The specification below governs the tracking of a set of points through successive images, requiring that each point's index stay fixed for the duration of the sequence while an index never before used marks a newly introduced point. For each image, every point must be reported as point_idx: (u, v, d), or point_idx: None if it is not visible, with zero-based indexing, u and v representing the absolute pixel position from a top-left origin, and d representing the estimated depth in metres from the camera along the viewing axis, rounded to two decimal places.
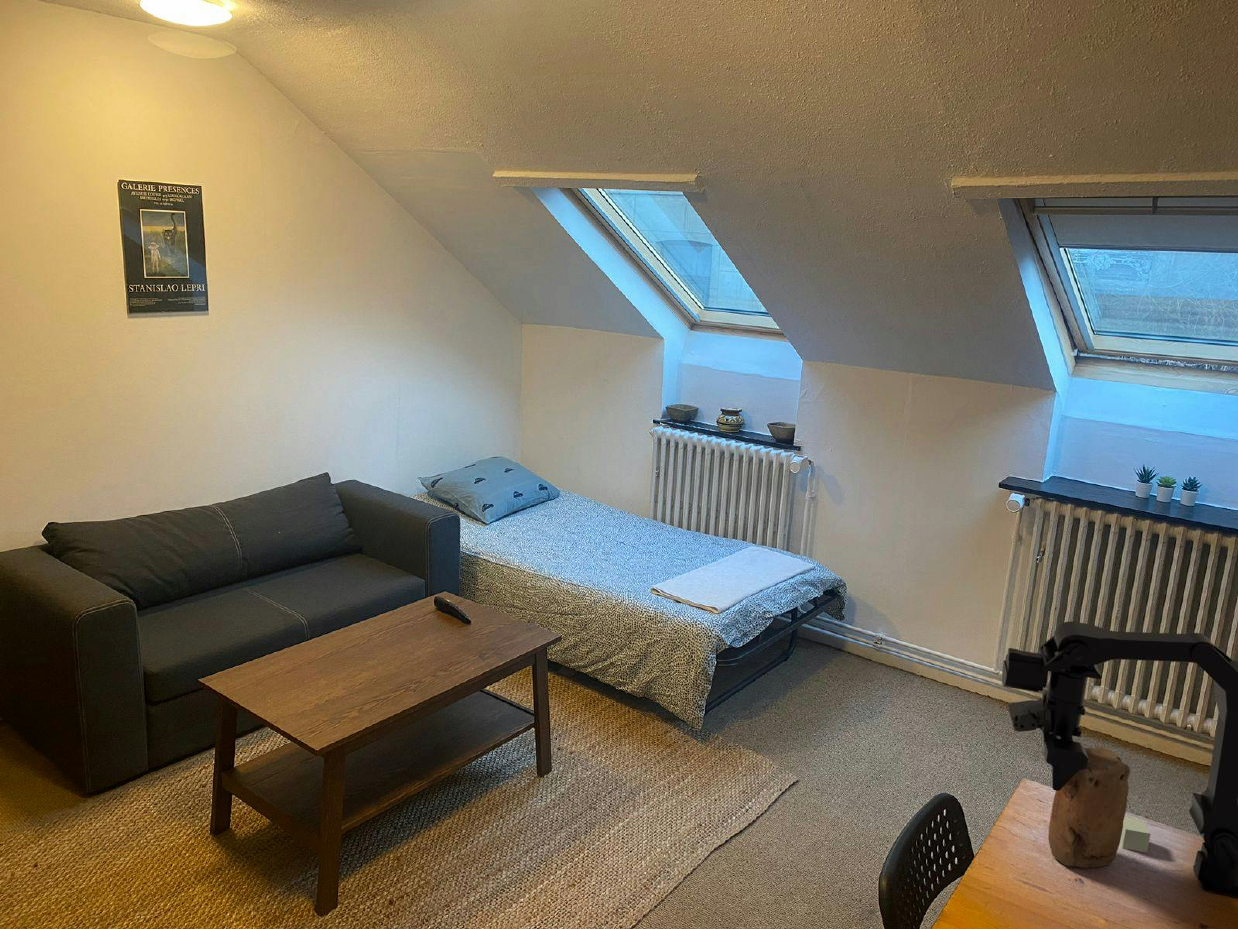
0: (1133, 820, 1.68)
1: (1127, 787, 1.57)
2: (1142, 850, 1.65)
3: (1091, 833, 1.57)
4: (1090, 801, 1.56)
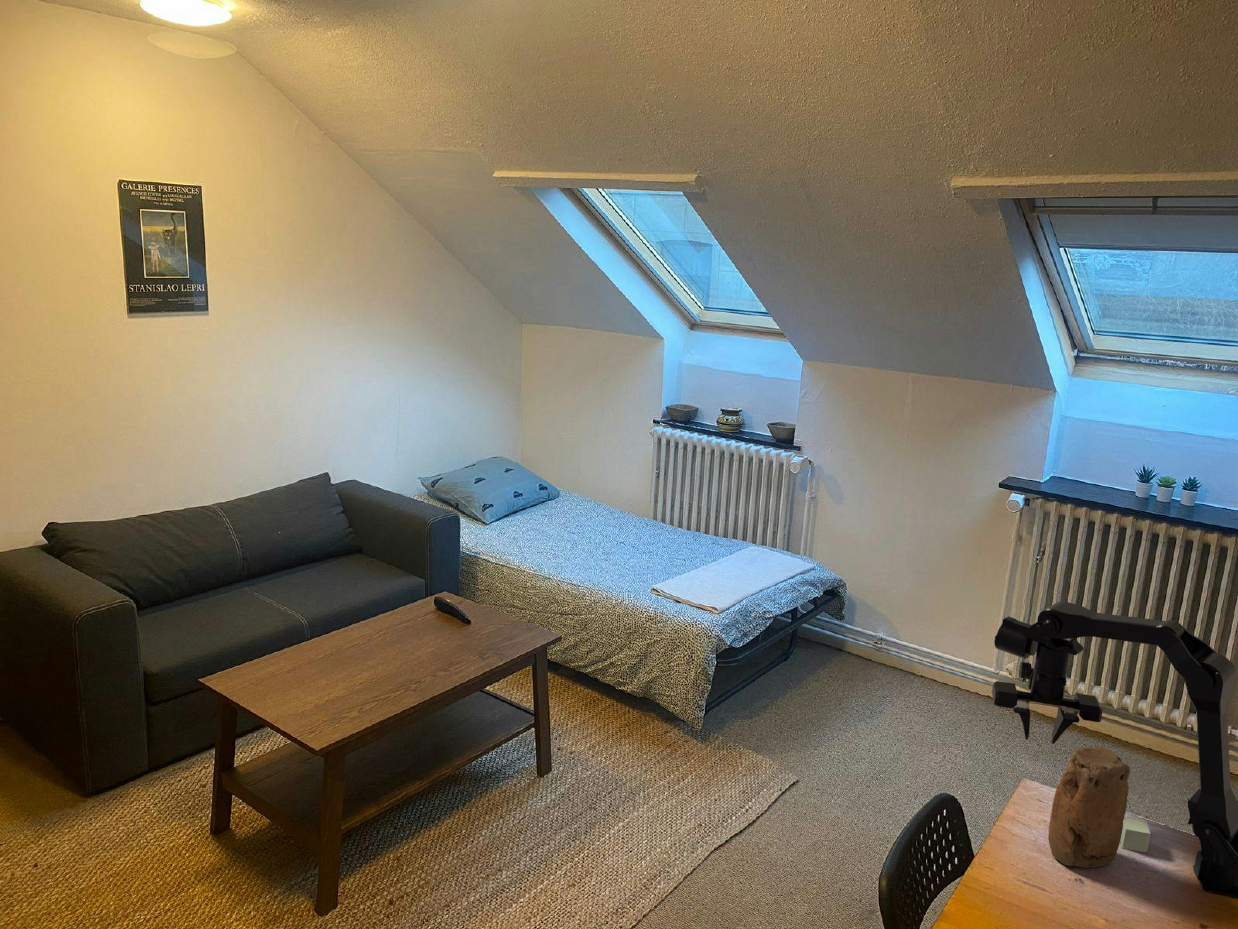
0: (1133, 820, 1.68)
1: (1127, 787, 1.57)
2: (1142, 850, 1.65)
3: (1091, 833, 1.57)
4: (1090, 801, 1.56)
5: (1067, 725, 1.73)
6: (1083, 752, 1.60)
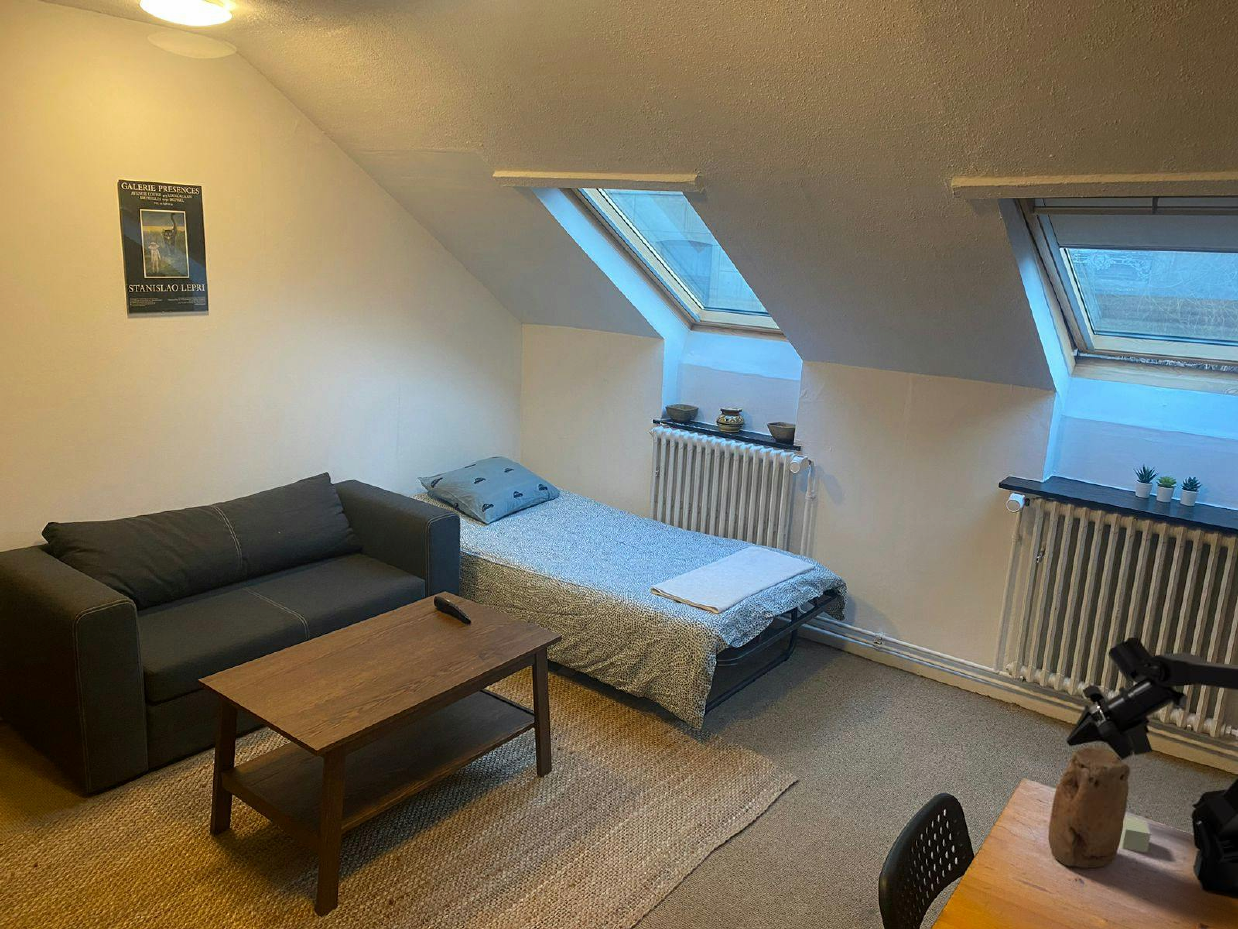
0: (1133, 820, 1.68)
1: (1127, 787, 1.57)
2: (1142, 850, 1.65)
3: (1091, 833, 1.57)
4: (1090, 801, 1.56)
5: (1086, 723, 1.73)
6: (1083, 752, 1.60)
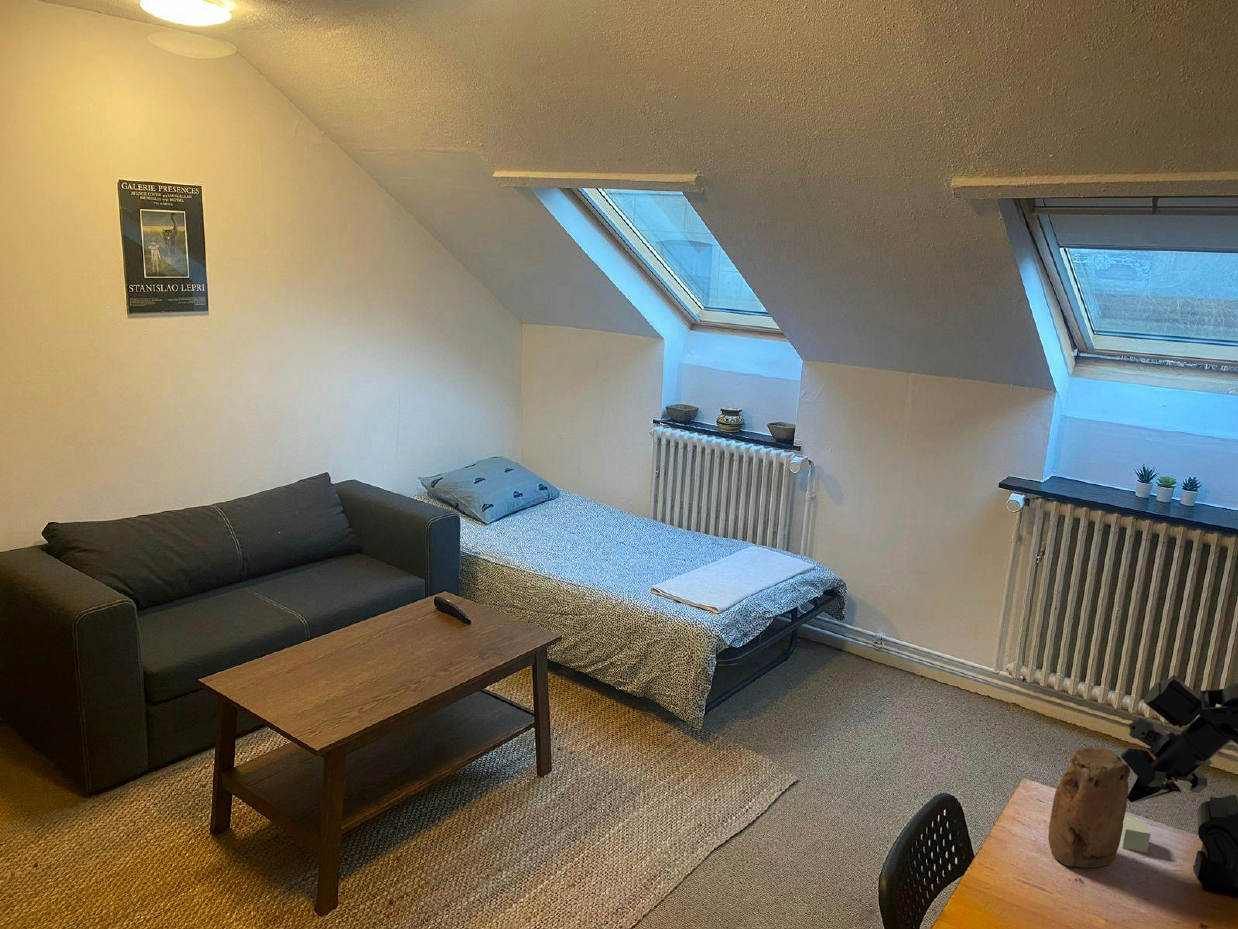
0: (1133, 820, 1.68)
1: (1127, 787, 1.57)
2: (1142, 850, 1.65)
3: (1091, 833, 1.57)
4: (1090, 801, 1.56)
5: (1168, 794, 1.58)
6: (1083, 752, 1.60)
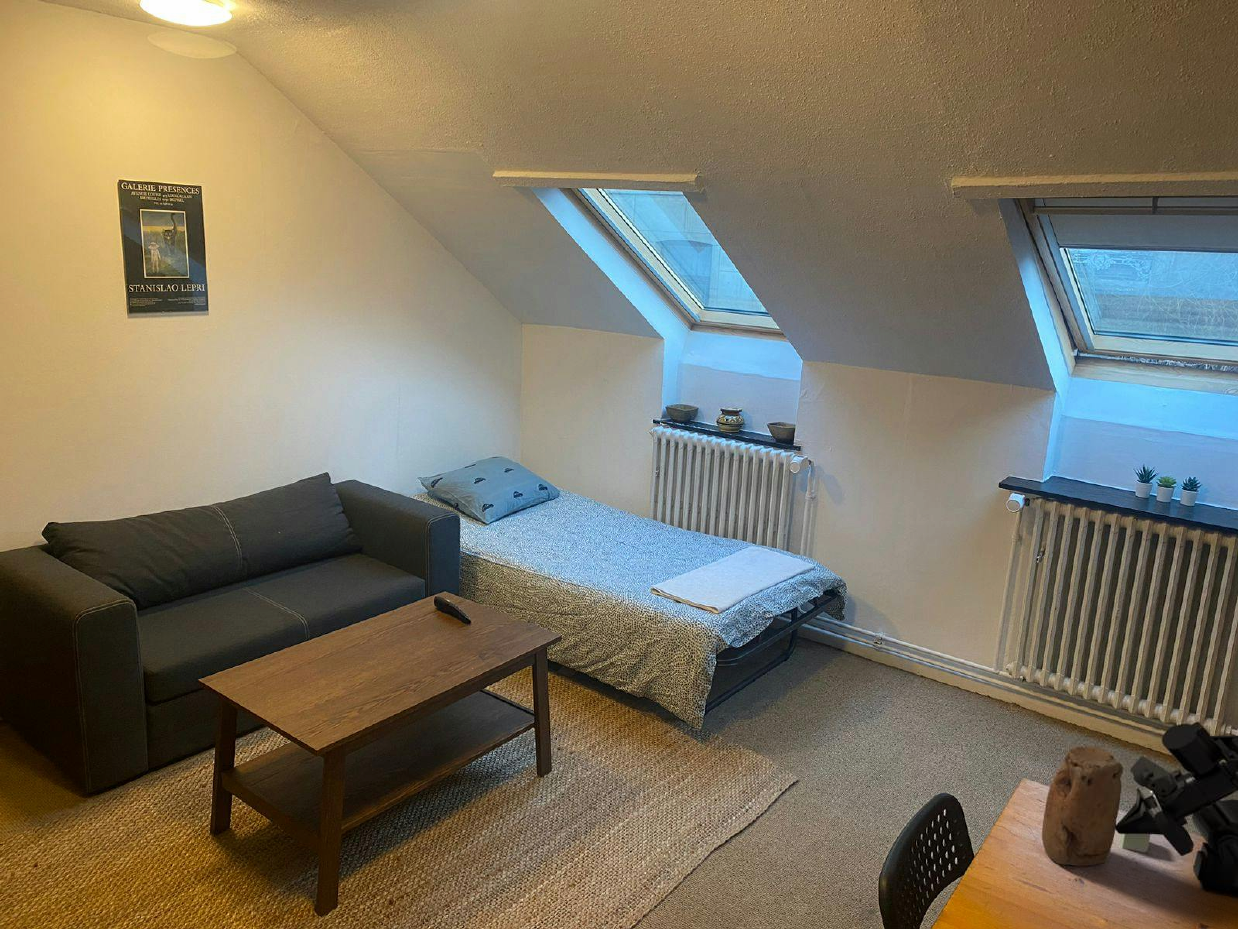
0: None
1: (1120, 785, 1.58)
2: (1142, 850, 1.65)
3: (1084, 831, 1.58)
4: (1083, 799, 1.56)
5: None
6: (1076, 751, 1.60)
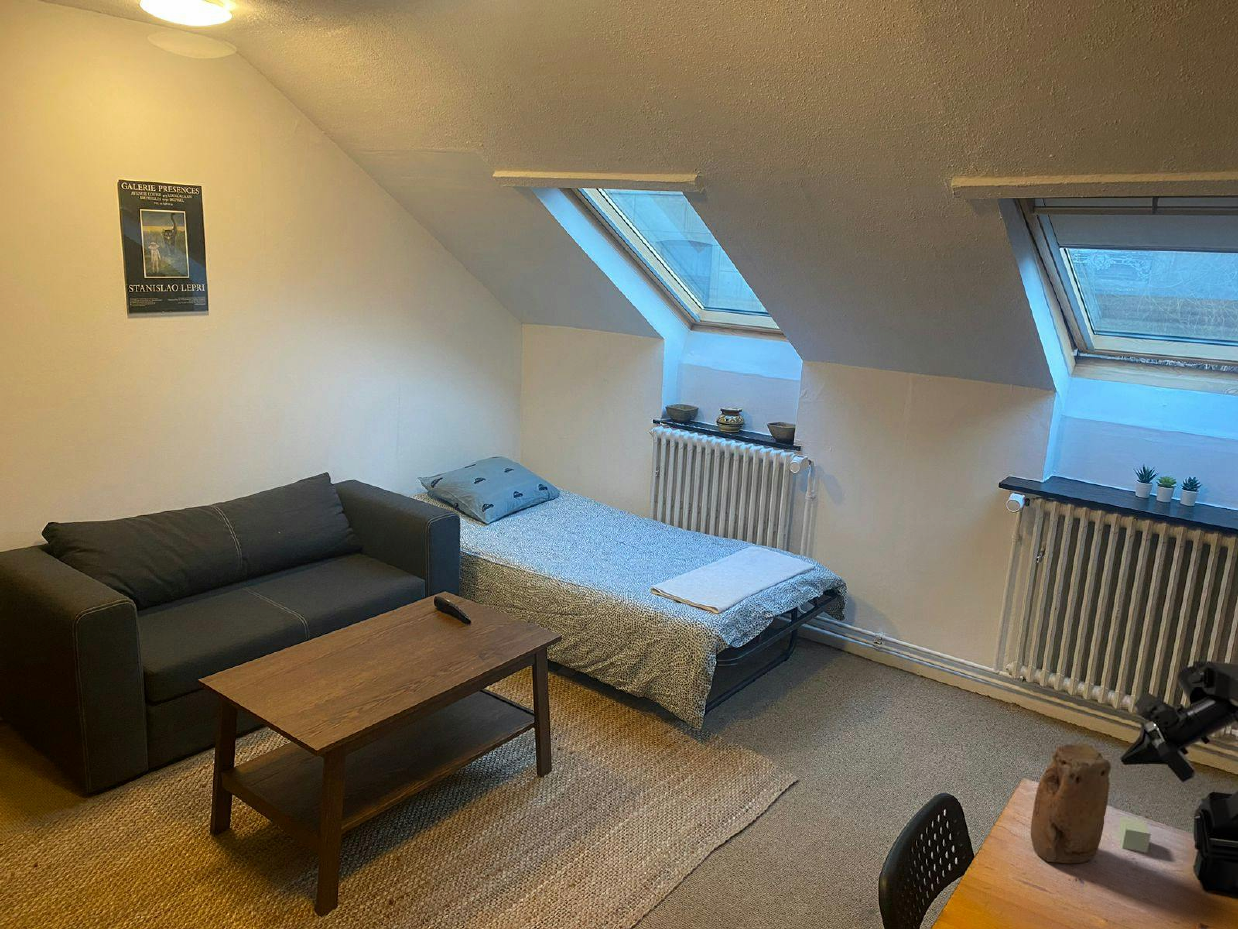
0: (1133, 820, 1.68)
1: (1108, 783, 1.58)
2: (1142, 850, 1.65)
3: (1073, 829, 1.58)
4: (1072, 797, 1.57)
5: None
6: (1065, 749, 1.61)
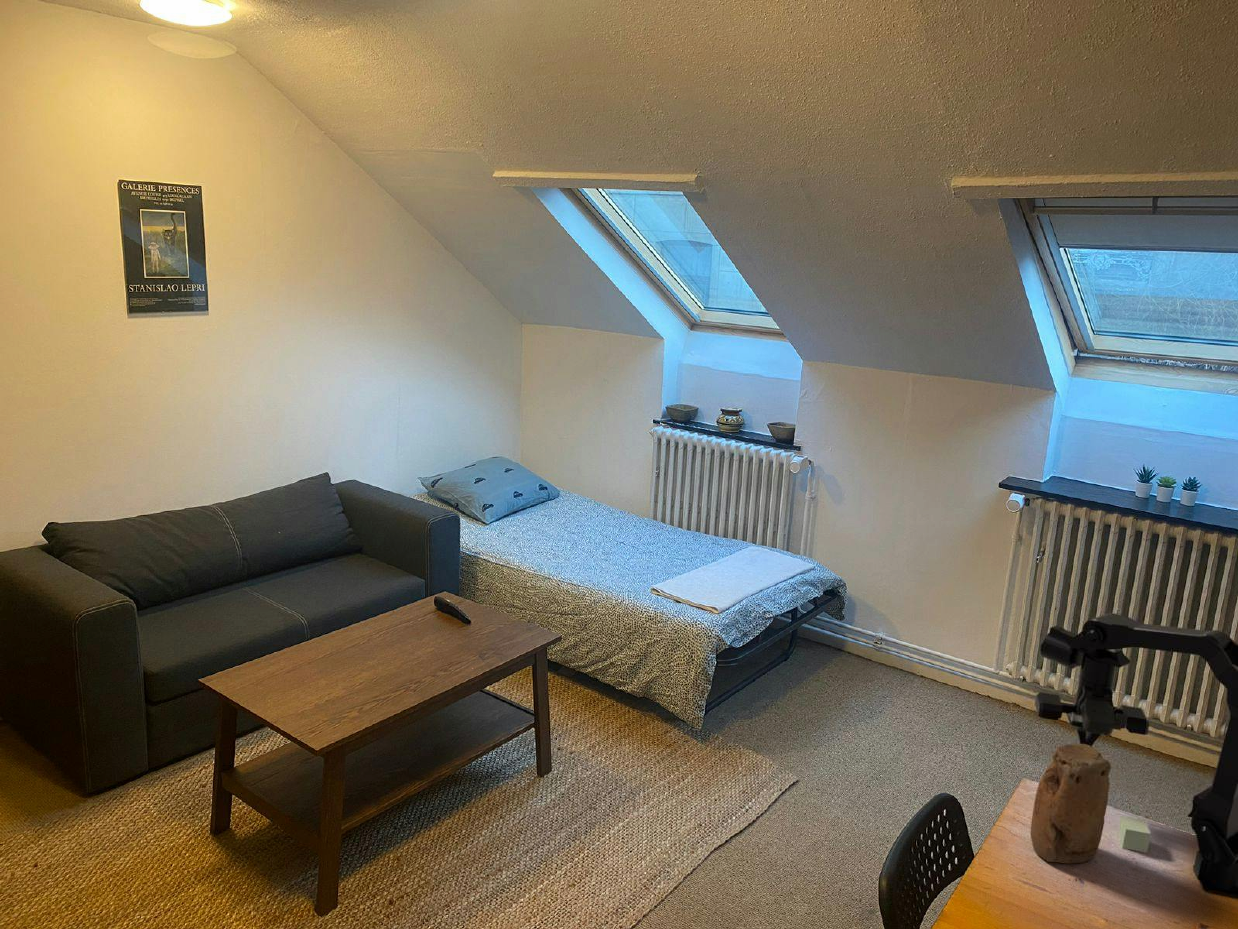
0: (1133, 820, 1.68)
1: (1108, 783, 1.58)
2: (1142, 850, 1.65)
3: (1073, 829, 1.58)
4: (1072, 797, 1.57)
5: None
6: (1065, 749, 1.61)
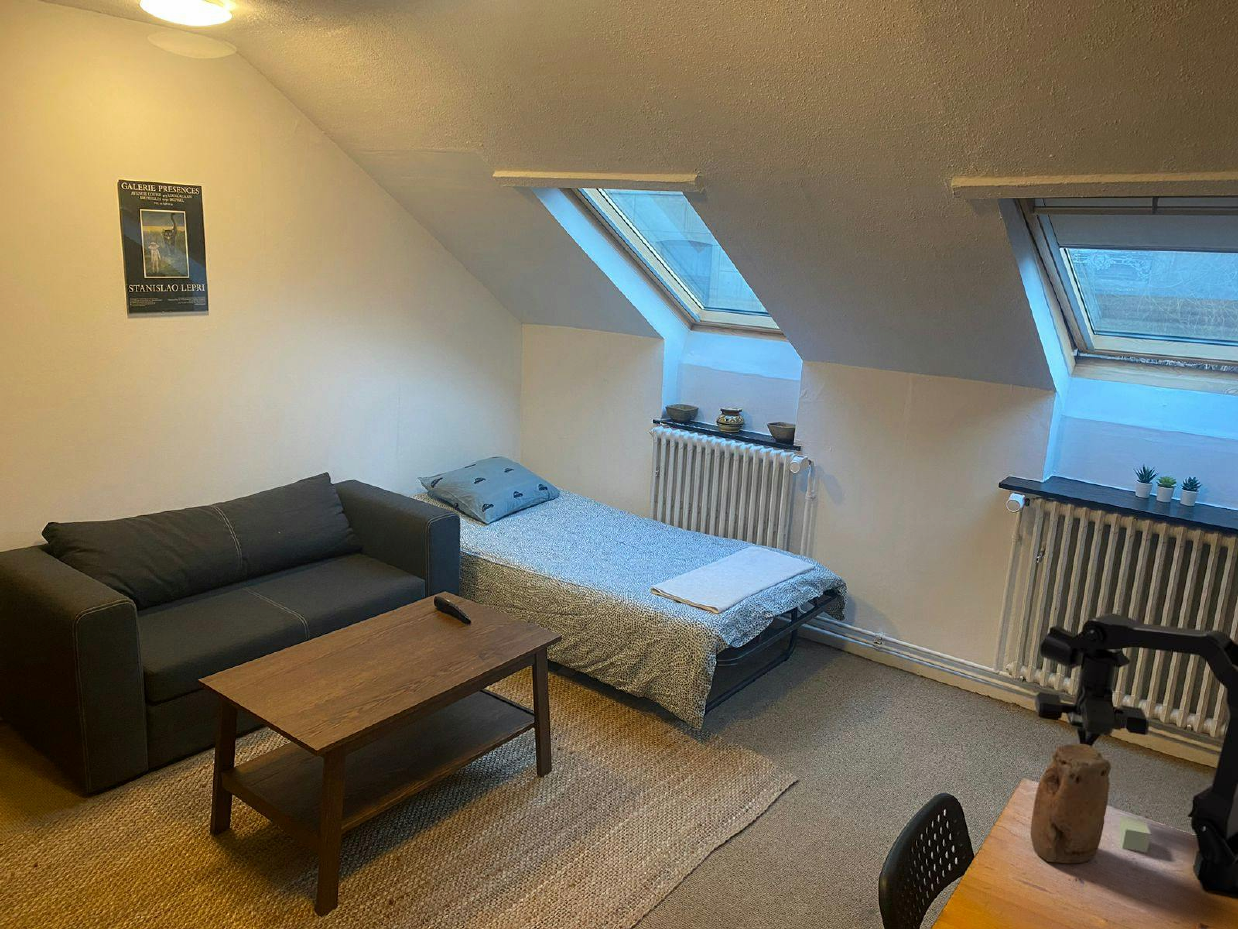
0: (1133, 820, 1.68)
1: (1108, 783, 1.58)
2: (1142, 850, 1.65)
3: (1073, 829, 1.58)
4: (1072, 797, 1.57)
5: None
6: (1064, 749, 1.61)
